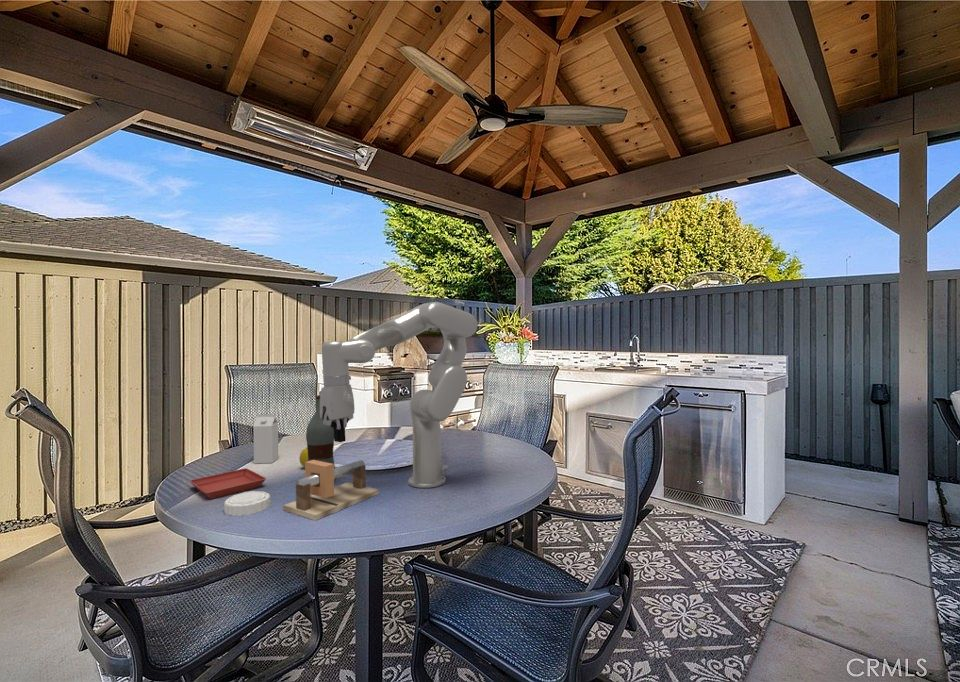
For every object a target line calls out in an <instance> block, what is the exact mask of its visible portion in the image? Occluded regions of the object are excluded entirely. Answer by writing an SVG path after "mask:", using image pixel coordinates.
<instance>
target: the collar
mask: <svg viewBox="0 0 960 682" xmlns="http://www.w3.org/2000/svg"><path fill="white" fill-rule="evenodd" d="M334 465H335V463H334V464H332V463H327V462H322V461H317V460H311V461H307V462H305V467H304V478H305V477H308V476H311V475H315V474H320V484H318V485H315V486H312V487H310V495H316V496H320V497H324V498H327V497H330V496H333V495H334V487H335V479H334Z"/></svg>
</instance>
